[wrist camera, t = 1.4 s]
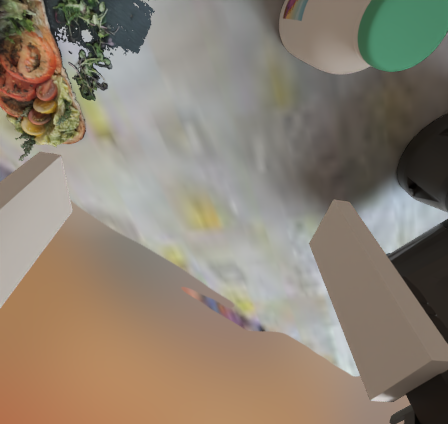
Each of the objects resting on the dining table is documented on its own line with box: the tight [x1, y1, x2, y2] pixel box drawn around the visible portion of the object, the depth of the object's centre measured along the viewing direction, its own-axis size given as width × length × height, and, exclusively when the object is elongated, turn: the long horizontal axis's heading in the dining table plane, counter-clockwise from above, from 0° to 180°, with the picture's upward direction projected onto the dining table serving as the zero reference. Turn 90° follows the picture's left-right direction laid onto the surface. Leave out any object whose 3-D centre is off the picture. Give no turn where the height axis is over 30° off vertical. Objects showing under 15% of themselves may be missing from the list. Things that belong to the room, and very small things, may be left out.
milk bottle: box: [279, 0, 448, 75], centre depth 22 cm, size 8×8×20 cm
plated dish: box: [0, 0, 155, 161], centre depth 30 cm, size 35×28×7 cm
